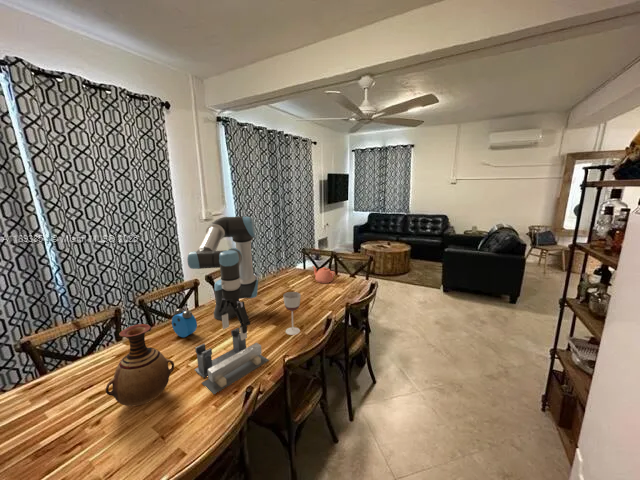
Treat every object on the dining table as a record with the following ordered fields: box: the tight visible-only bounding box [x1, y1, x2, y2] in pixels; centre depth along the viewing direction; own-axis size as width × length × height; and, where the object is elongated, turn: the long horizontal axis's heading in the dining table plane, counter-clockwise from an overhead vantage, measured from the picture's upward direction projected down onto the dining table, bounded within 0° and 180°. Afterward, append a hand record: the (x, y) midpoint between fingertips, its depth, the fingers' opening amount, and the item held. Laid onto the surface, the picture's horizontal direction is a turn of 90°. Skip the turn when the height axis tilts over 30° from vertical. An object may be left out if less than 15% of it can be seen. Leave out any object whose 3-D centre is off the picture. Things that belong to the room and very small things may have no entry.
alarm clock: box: [171, 308, 198, 338], centre depth 150 cm, size 13×6×15 cm, turn 65°
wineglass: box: [282, 291, 302, 336], centre depth 154 cm, size 9×10×22 cm
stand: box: [194, 327, 247, 379], centre depth 128 cm, size 8×24×12 cm, turn 140°
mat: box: [201, 354, 270, 395], centre depth 123 cm, size 10×28×1 cm, turn 140°
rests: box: [215, 356, 261, 388], centre depth 122 cm, size 8×20×3 cm, turn 140°
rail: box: [207, 342, 262, 383], centre depth 121 cm, size 25×4×4 cm, turn 141°
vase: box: [105, 323, 175, 407], centre depth 104 cm, size 21×18×30 cm
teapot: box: [312, 265, 336, 284], centre depth 233 cm, size 22×15×12 cm
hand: (234, 333), depth 119 cm, fingers open, 13 cm apart
